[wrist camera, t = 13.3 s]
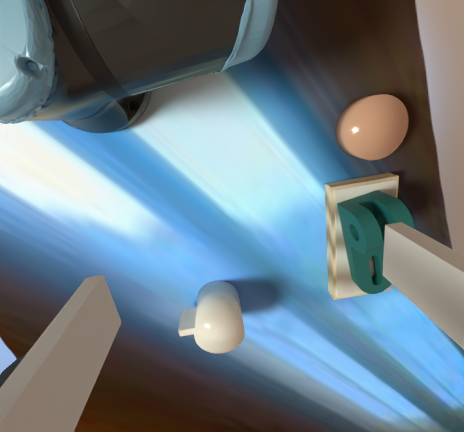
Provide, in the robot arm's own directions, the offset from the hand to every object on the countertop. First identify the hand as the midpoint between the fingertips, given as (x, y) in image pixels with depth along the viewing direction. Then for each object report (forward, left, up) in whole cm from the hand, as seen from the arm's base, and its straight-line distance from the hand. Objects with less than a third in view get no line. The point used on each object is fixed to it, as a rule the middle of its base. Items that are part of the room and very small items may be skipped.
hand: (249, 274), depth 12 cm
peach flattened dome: (-2, +23, -32) cm, 39 cm away
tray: (+17, +22, -32) cm, 42 cm away
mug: (+25, -6, -32) cm, 41 cm away
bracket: (+17, +22, -29) cm, 40 cm away
